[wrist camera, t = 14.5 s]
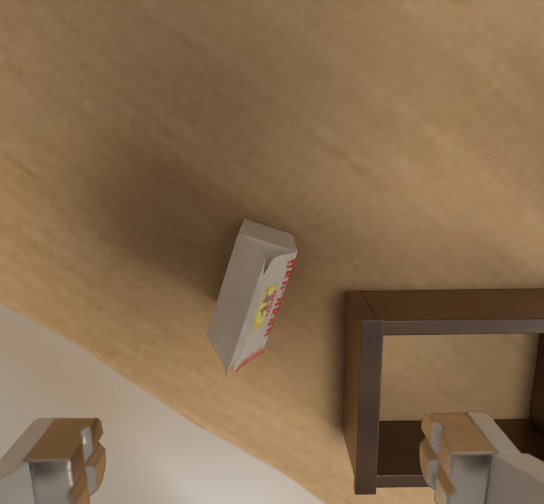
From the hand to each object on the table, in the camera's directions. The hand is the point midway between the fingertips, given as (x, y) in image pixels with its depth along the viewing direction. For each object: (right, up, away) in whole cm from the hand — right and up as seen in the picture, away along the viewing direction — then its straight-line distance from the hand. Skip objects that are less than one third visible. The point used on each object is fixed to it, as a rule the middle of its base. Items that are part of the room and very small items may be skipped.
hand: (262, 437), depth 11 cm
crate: (+14, -4, +23) cm, 27 cm away
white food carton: (-1, +3, +21) cm, 22 cm away
